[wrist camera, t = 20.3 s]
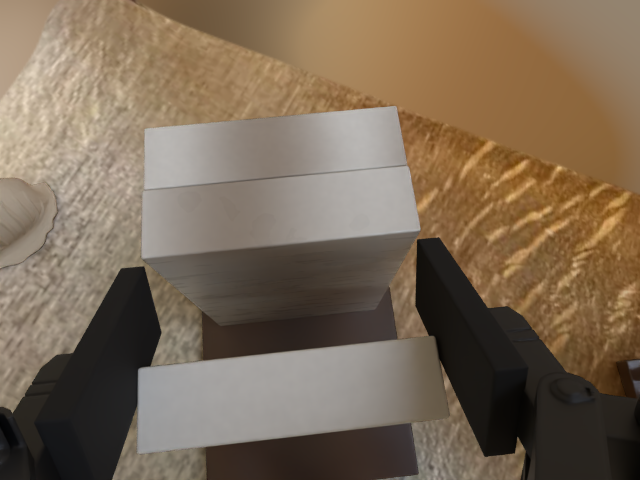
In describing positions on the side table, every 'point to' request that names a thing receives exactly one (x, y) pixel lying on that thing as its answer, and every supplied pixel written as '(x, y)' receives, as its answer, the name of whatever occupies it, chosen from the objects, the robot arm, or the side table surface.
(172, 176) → the beige and brown bookend
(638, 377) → the grey rack
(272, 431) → the white book
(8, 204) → the decorative ornament
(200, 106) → the side table surface
